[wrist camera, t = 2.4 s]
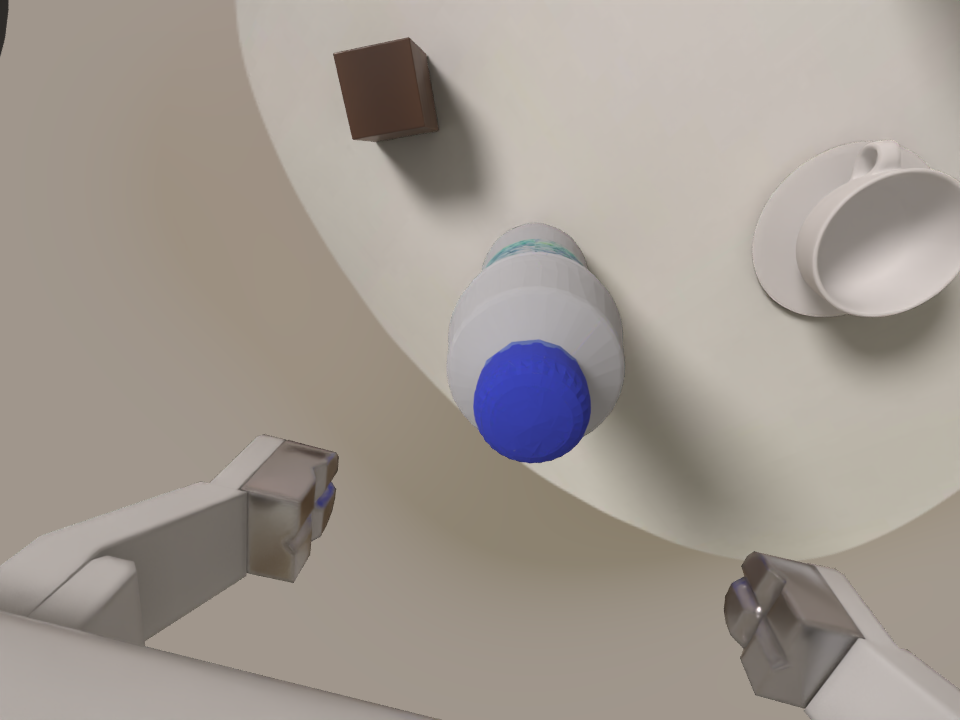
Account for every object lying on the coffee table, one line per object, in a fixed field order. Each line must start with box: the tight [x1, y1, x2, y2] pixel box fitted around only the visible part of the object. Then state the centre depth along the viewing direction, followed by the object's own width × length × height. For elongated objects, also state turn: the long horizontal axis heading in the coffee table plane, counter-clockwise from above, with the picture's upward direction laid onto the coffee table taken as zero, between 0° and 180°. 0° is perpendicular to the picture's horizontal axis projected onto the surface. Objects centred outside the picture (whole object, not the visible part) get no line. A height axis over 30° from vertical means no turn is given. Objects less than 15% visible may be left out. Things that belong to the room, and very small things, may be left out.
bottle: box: [447, 223, 625, 463], centre depth 22 cm, size 7×7×20 cm
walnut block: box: [333, 37, 439, 142], centre depth 26 cm, size 4×4×4 cm
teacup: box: [752, 140, 960, 317], centre depth 26 cm, size 10×10×5 cm
